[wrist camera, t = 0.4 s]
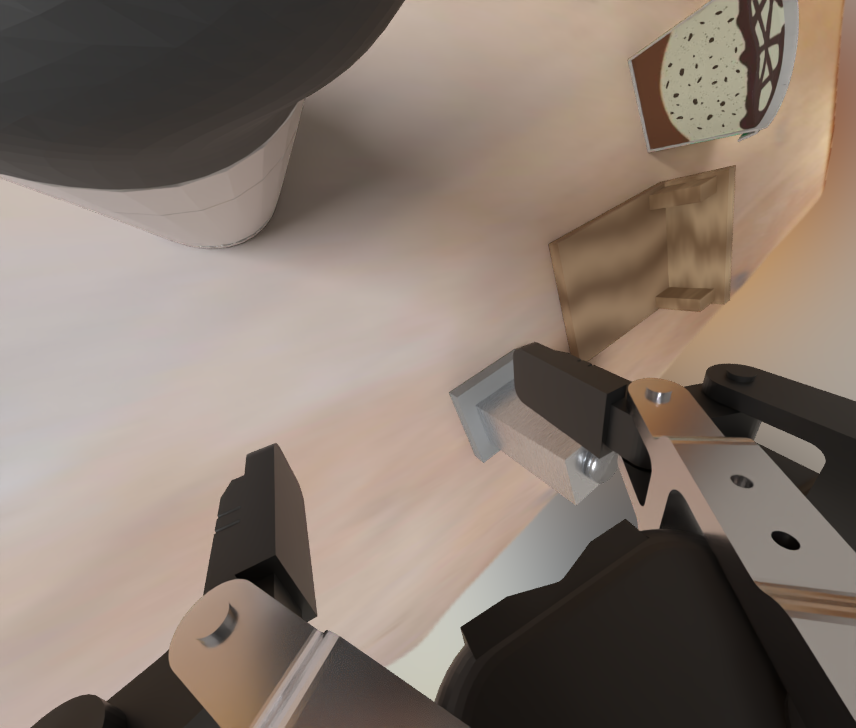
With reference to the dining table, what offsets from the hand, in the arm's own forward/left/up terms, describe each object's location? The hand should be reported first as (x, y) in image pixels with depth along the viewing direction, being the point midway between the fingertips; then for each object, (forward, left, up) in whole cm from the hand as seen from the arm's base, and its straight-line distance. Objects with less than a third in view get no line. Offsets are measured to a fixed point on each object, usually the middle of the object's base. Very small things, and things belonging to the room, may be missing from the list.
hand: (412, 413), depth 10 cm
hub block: (+16, +12, -16) cm, 26 cm away
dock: (+10, +34, -17) cm, 39 cm away
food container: (-6, +43, -18) cm, 47 cm away
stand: (+16, +12, -17) cm, 26 cm away
